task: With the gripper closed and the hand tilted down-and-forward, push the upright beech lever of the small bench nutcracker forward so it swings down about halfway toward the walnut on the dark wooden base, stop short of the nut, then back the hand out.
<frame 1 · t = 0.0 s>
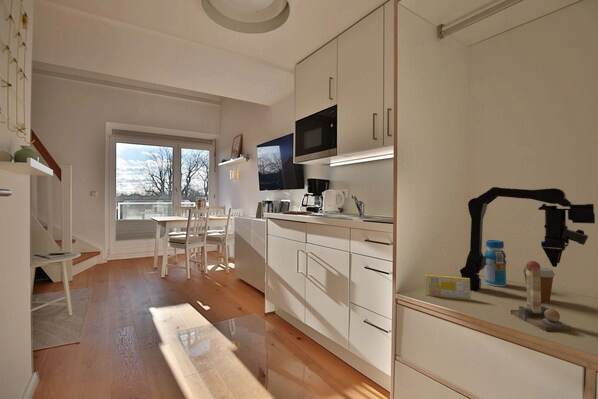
hand: (556, 264, 105), 15 cm above the table, tool pointing down, fingers open, 9 cm apart
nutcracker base: (534, 319, 93), on the table
disposable coffee cup: (538, 300, 111), on the table
beverage bottle: (495, 284, 132), on the table
candy box: (447, 297, 115), on the table
lever: (533, 287, 93), point 10 cm above the table, hinge at 0.0°
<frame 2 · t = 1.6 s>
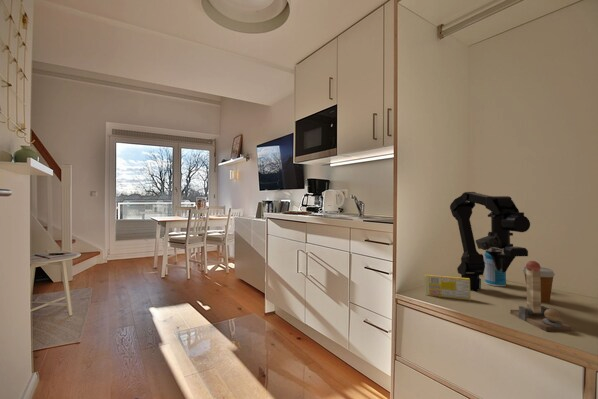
hand: (501, 271, 107), 12 cm above the table, tool pointing down, fingers closed
nothing on the table moved.
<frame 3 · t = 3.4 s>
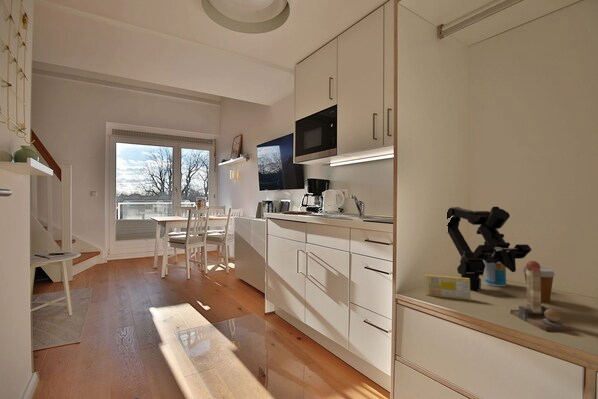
hand: (514, 271, 101), 13 cm above the table, tool tilted 45°, fingers closed
nothing on the table moved.
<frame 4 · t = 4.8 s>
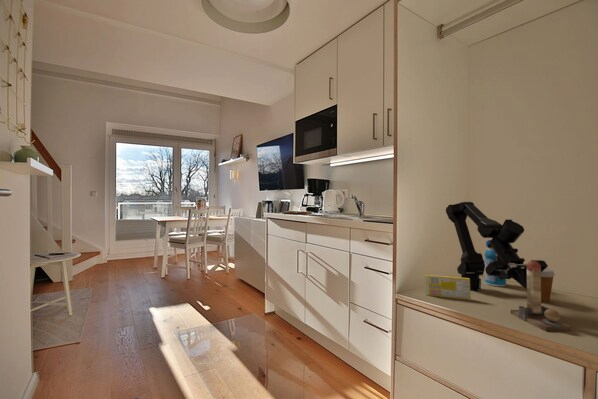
hand: (530, 290, 94), 9 cm above the table, tool tilted 45°, fingers closed, pressing on lever
lever: (533, 287, 93), point 10 cm above the table, hinge at 0.8°, touching gripper
everything else where it was.
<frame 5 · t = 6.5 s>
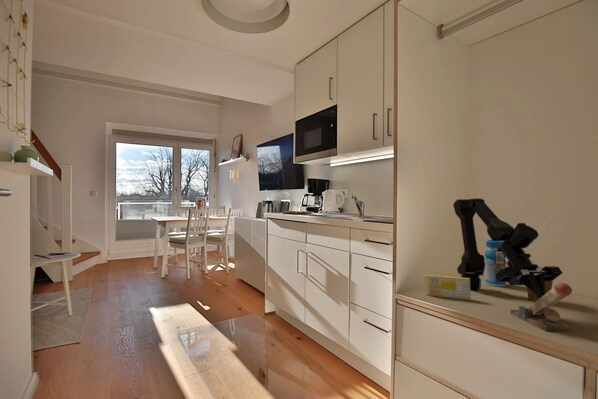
hand: (543, 298, 89), 8 cm above the table, tool tilted 45°, fingers closed, pressing on lever
lever: (548, 300, 87), point 8 cm above the table, hinge at 45.1°, touching gripper
everything else where it was.
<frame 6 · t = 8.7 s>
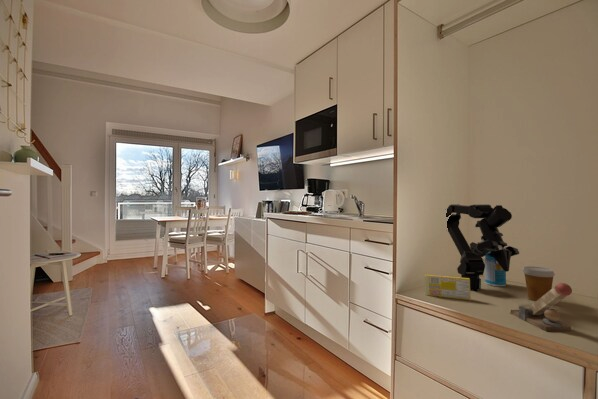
hand: (506, 271, 105), 13 cm above the table, tool tilted 30°, fingers closed
lever: (548, 300, 87), point 8 cm above the table, hinge at 45.2°
everything else where it was.
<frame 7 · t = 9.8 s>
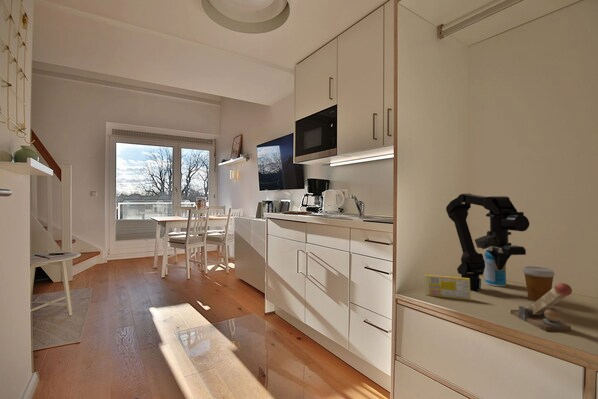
hand: (499, 269, 110), 12 cm above the table, tool pointing down, fingers closed
nothing on the table moved.
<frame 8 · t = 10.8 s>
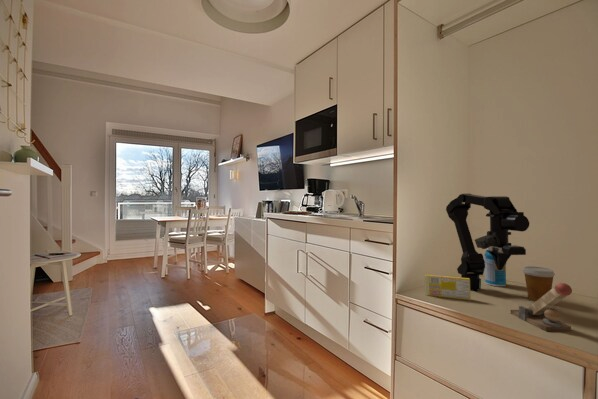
hand: (499, 269, 110), 12 cm above the table, tool pointing down, fingers closed
nothing on the table moved.
at the end: lever at +45° (first picture: +0°) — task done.
